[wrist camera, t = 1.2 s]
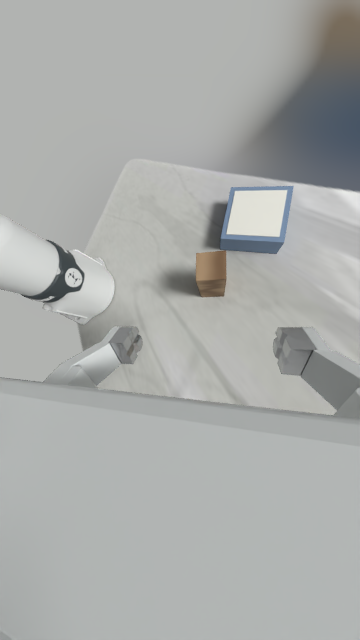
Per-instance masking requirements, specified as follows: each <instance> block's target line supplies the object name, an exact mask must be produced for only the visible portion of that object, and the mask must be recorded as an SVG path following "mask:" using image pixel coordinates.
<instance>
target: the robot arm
mask: <svg viewBox="0 0 360 640" xmlns="http://www.w3.org/2000/svg"><path fill="white" fill-rule="evenodd" d="M114 288H115V286H114V280H113V277H112V275H111V273H110V272H109V271H108V270H107V269H106V267H105V264H104V261H103V260H102V259H101V258H90V257H89V256H87V255H85V254H83V253H82V252H80V251H78V250H69V251H67V250H66V249H64V248H63V247H62V246H60V245H58V244H56V243H54V242H52V241H49V240H45V239H43V238H41V237H40V236H38V235H36V234H35V233H33V232H31V231H29V230H28V229H26V228H25V227H23V226H21V225H20V224H18V223H16V222H14V221H13V220H11V219H9V218H8V217H6V216H4V215H2V214H0V289H1V290H6V291H10V292H15V293H19V294H21V295H22V296H24V297H27V298H29V299H32V300H35V301H41V302H43V303H45V304H44V306H43V309H45V310H48V311H52V312H57V313H60V314H62V315H64V316H66V317H68V318H70V319H71V320H73V321H75V322H77V323H79V324H82V325H84V324H86V323H87V322H88V321H89V320H90V319H91V318H92V317H94V316H96V315H98V314H100V313H101V312H103V311H104V310H105V309H106V308H107V307H108V305H109V304H110V302H111V300H112V298H113V295H114ZM79 318H80V319H79ZM138 333H139V330H138V328H137V327H134V326H115V327H113V328H112V329H111V330H110V332H109V333H108V334H107V335H106V336H105V338H104V339H103V340H102V341H101V342H100V343H97V344H95V345H93V346H92V347H90V348H88V349H86V350H84V351H83V352H81V353H79V354H77V355H76V356H74V357H72V358H70V359H68V360H67V361H65V362H64V363H61V364H60V365H59V366H58V367H57V368H56V369H55V370H54V371H53V372H52V373H51V374H50V375H49V376H48V378H46V380H45V381H44V382H36V381H28V380H18V379H10V378H1V377H0V640H360V364H359V363H357V362H355V361H353V360H351V359H349V358H348V357H346V356H344V355H342V354H340V353H338V352H337V351H331V349H330V348H329V347H328V345H327V344H326V343H325V341H324V340H323V339H322V337H321V336H320V335H319V333H318V332H317V331H316V329H315V328H313V327H278V328H277V330H276V335H277V338H275V339H274V342H273V352H274V355H275V357H276V358H278V359H279V360H278V366H279V369H280V372H281V374H287V375H298V376H301V377H302V378H303V379H304V380H305V381H306V382H307V383H308V384H309V385H310V386H311V387H312V388H313V389H315V390H316V391H317V392H318V393H319V394H320V395H321V396H322V397H323V398H324V399H325V400H326V401H327V402H329V403H330V404H331V405H332V406H333V407H334V408H335V409H336V410H337V412H336V413H335V414H334V415H324V414H315V413H306V412H298V411H289V410H280V409H272V408H263V407H254V406H245V405H237V404H228V403H219V402H210V401H201V400H193V399H184V398H175V397H167V396H158V395H149V394H141V393H132V392H123V391H114V390H106V389H98V387H97V385H98V384H99V383H100V382H101V381H103V380H104V379H105V378H106V377H107V376H108V375H109V374H111V373H112V372H113V371H114V370H115V369H116V368H118V367H119V366H120V365H121V364H134V362H135V360H136V358H137V352H139V351H140V350H141V348H142V343H143V342H142V338H141V336H140V335H139V334H138Z"/></svg>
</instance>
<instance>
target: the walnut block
mask: <svg viewBox="0 0 360 640" xmlns="http://www.w3.org/2000/svg"><path fill="white" fill-rule="evenodd" d="M196 283H197V286H198V288H199V291H200V294H201V297H218V296H224V292H225V285H226V251H216V252H205V253H196Z"/></svg>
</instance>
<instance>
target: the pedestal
mask: <svg viewBox="0 0 360 640" xmlns="http://www.w3.org/2000/svg"><path fill="white" fill-rule="evenodd" d="M292 192H293V186H276V187H231V190H230V195H229V200H228V205H227V210H226V214H225V219H224V224H223V229H222V234H221V239H220V250H234V251H247V252H260V253H274V254H277V252H278V251H279V249H280V248H281V246H282V245H283V243H284V240H285V234H286V228H287V222H288V216H289V210H290V204H291V198H292Z"/></svg>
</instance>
